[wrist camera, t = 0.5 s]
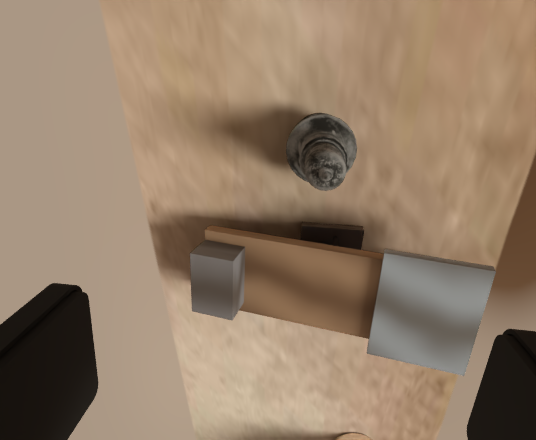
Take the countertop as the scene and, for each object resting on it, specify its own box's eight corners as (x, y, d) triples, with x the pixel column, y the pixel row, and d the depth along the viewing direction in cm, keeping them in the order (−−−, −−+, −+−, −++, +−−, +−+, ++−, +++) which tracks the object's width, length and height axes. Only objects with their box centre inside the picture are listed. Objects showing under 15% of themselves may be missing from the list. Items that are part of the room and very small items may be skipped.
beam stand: (223, 216, 39) (212, 235, 35) (445, 232, 38) (463, 254, 33) (223, 284, 42) (213, 309, 38) (428, 301, 41) (443, 329, 36)
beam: (210, 215, 36) (189, 232, 33) (489, 259, 30) (503, 286, 27) (211, 304, 40) (192, 328, 36) (460, 359, 34) (468, 395, 30)
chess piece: (308, 184, 37) (311, 235, 26) (275, 132, 36) (263, 163, 24) (363, 152, 36) (390, 191, 24) (331, 96, 34) (345, 111, 23)
